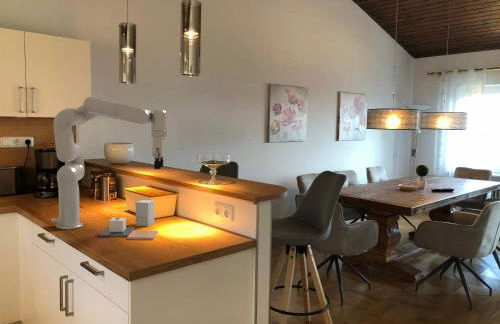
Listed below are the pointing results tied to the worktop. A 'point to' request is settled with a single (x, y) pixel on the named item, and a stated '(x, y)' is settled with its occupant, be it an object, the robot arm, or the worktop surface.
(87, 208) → the worktop surface
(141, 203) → the supplement box
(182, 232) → the worktop surface
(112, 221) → the pale grey cube
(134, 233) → the coaster
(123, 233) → the post base
